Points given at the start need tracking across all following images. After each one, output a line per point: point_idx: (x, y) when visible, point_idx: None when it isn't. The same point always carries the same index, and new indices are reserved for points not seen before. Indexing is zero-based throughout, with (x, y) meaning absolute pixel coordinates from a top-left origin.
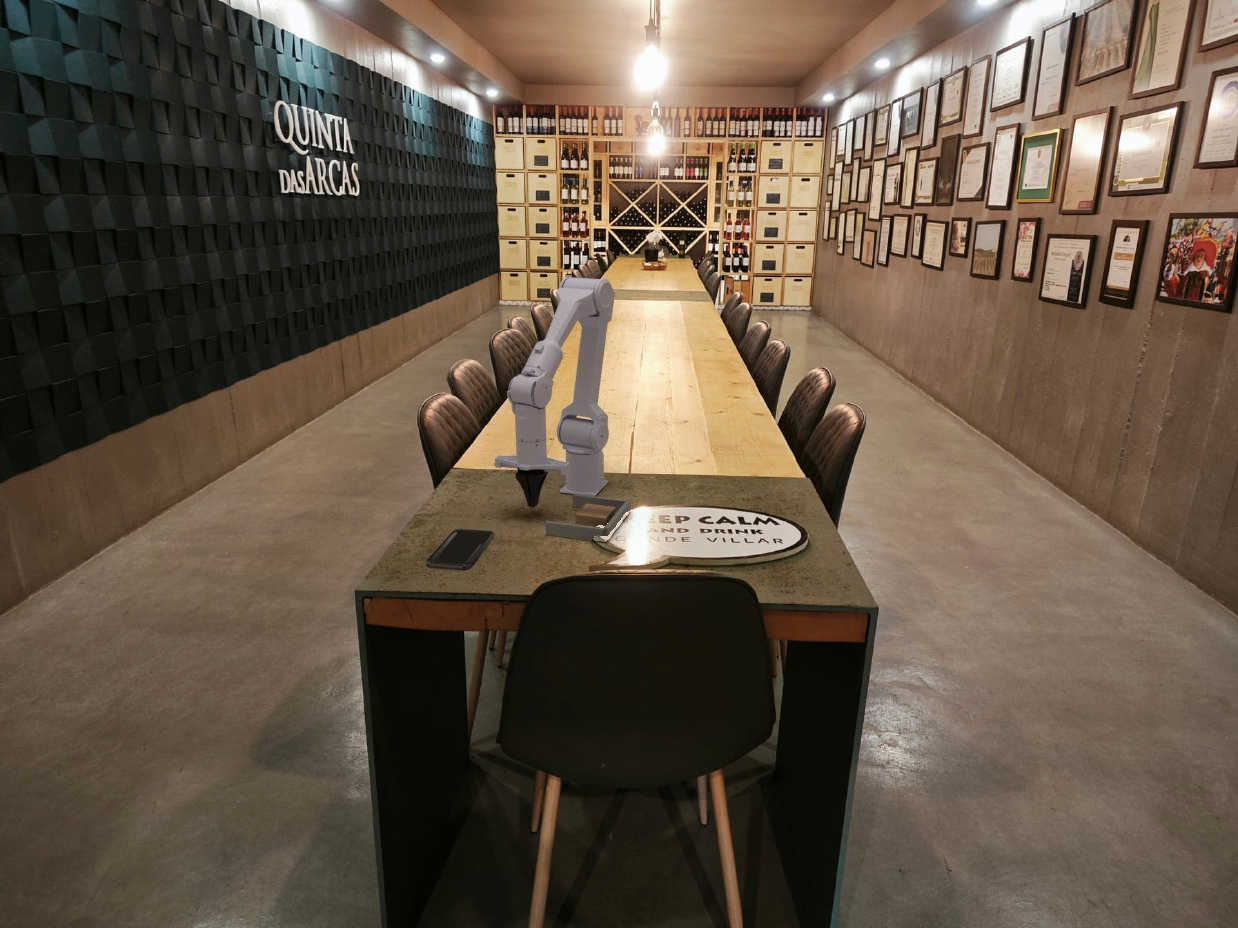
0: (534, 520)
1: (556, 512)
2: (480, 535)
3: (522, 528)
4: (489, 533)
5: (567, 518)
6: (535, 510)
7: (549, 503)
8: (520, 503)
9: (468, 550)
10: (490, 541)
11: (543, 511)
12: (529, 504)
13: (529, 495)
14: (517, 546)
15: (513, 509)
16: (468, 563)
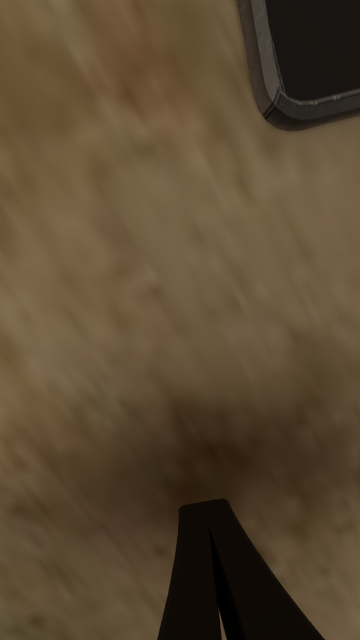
0: (160, 429)
1: (110, 561)
2: (339, 24)
3: (162, 303)
4: (297, 87)
5: (11, 526)
6: None
7: None
8: (331, 568)
9: None
10: (239, 3)
11: None
12: (215, 510)
13: (227, 586)
14: (26, 8)
15: (332, 497)
16: None
